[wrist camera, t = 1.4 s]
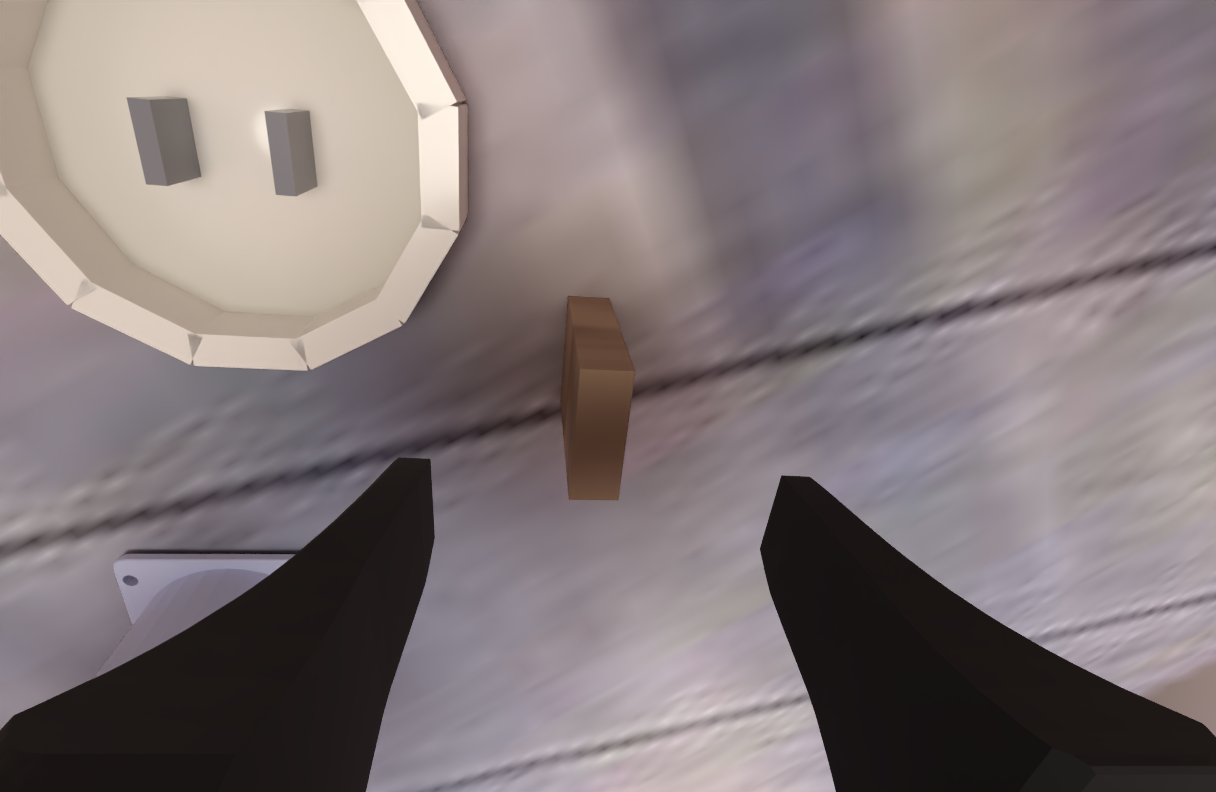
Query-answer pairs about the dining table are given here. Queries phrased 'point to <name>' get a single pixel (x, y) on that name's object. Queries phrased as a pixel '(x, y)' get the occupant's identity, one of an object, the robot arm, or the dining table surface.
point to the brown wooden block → (594, 399)
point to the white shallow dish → (232, 169)
